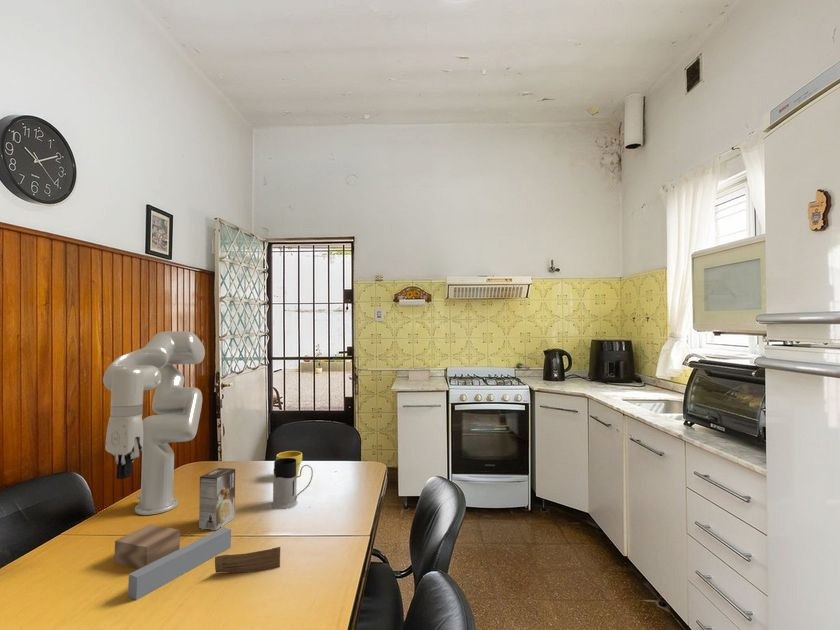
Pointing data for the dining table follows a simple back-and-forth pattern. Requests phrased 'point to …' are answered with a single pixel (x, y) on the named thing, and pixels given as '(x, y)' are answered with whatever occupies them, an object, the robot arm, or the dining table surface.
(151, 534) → the walnut block
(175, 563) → the grey board
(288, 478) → the glass holder
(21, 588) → the dining table surface
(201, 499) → the coffee box
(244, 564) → the wood plank
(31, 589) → the dining table surface
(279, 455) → the plant pot
